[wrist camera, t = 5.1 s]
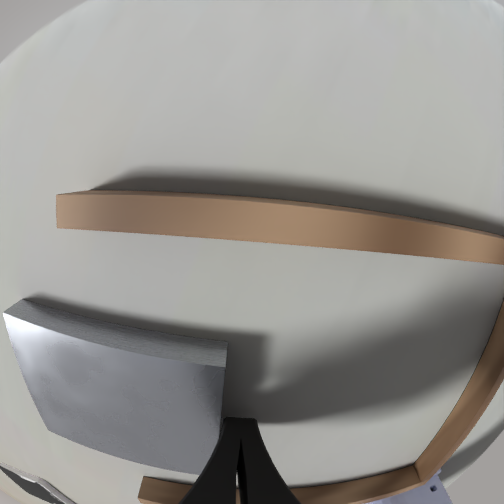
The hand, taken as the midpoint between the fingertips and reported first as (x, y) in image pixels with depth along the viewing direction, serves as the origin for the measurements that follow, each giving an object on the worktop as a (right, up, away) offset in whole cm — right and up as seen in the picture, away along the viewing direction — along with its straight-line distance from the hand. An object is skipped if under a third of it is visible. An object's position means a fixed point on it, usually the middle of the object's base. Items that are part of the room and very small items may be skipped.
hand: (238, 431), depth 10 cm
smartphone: (-29, -24, +7) cm, 38 cm away
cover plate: (-6, +1, +1) cm, 6 cm away
